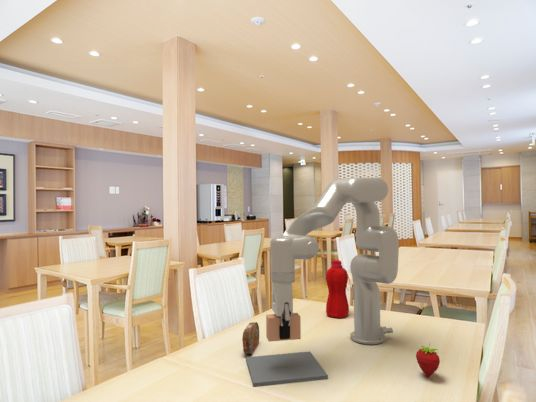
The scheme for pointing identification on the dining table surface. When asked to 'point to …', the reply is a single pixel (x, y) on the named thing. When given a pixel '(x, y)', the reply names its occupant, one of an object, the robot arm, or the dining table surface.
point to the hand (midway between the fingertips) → (283, 335)
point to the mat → (284, 368)
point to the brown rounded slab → (250, 338)
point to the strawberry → (428, 360)
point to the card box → (274, 324)
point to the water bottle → (337, 291)
